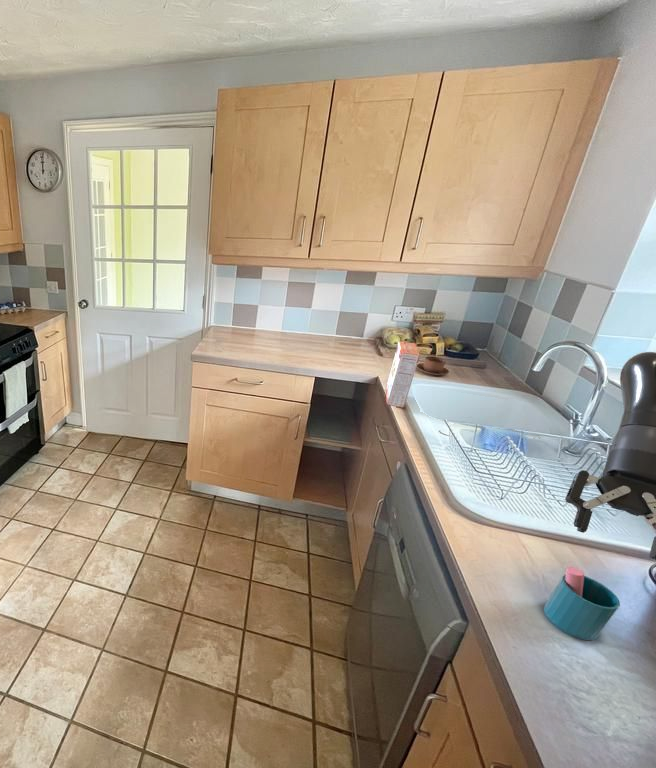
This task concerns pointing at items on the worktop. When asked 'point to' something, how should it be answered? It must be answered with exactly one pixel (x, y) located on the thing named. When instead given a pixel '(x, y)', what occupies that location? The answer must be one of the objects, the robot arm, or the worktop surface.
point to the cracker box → (401, 374)
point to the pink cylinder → (575, 580)
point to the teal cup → (581, 608)
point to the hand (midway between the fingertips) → (617, 544)
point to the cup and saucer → (433, 366)
